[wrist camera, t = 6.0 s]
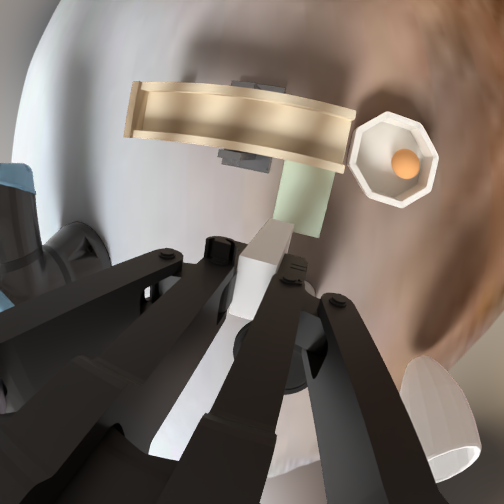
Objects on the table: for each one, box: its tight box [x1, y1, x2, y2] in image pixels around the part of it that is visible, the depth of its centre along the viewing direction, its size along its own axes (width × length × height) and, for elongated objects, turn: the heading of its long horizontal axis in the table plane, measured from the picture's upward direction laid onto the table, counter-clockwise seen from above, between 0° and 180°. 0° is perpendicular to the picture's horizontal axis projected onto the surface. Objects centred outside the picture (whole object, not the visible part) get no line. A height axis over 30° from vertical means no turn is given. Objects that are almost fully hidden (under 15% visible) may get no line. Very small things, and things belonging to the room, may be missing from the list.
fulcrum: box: [218, 81, 286, 173], centre depth 30 cm, size 14×11×7 cm
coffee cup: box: [233, 280, 315, 395], centre depth 32 cm, size 9×9×15 cm
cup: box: [400, 355, 481, 483], centre depth 27 cm, size 10×10×22 cm
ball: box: [391, 149, 420, 179], centre depth 27 cm, size 4×4×4 cm
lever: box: [124, 81, 356, 238], centre depth 26 cm, size 22×13×3 cm, turn 79°
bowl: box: [346, 111, 439, 208], centre depth 28 cm, size 10×10×4 cm
